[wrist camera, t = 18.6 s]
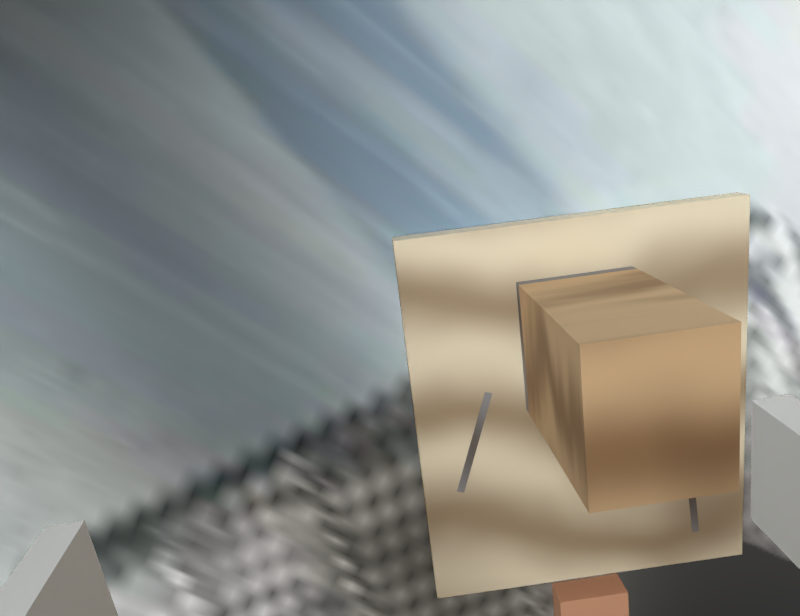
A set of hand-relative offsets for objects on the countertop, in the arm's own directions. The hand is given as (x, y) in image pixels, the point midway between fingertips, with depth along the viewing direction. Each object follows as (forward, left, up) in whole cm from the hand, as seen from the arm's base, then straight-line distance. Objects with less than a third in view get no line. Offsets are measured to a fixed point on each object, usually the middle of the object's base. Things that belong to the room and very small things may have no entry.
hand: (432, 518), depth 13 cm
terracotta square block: (+22, +10, -23) cm, 33 cm away
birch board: (+9, +10, -22) cm, 26 cm away
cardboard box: (+5, +10, -21) cm, 23 cm away
